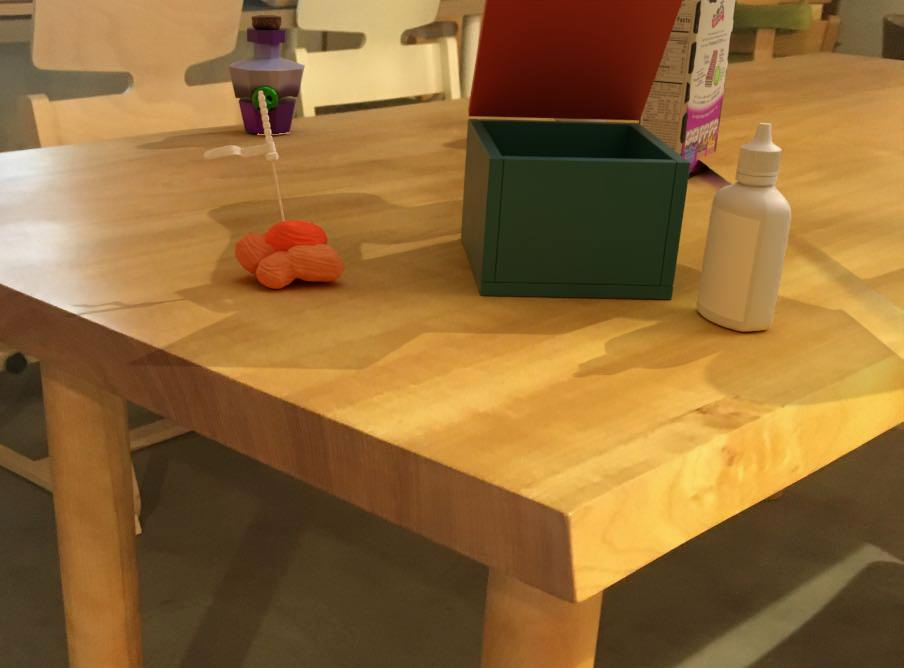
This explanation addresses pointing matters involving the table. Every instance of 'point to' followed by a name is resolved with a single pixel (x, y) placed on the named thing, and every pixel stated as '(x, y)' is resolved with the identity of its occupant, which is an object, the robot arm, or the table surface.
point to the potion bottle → (266, 78)
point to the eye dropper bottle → (746, 241)
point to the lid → (569, 57)
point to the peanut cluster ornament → (282, 233)
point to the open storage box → (572, 209)
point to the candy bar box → (692, 81)
